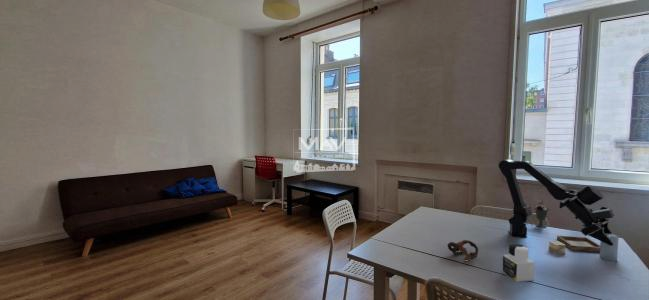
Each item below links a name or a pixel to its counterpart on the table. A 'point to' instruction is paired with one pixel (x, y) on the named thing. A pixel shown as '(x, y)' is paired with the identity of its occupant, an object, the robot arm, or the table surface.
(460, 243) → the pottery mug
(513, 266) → the white stepped box
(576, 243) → the tray
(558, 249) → the beech cube
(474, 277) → the table surface
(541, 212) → the sundae
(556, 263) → the table surface
